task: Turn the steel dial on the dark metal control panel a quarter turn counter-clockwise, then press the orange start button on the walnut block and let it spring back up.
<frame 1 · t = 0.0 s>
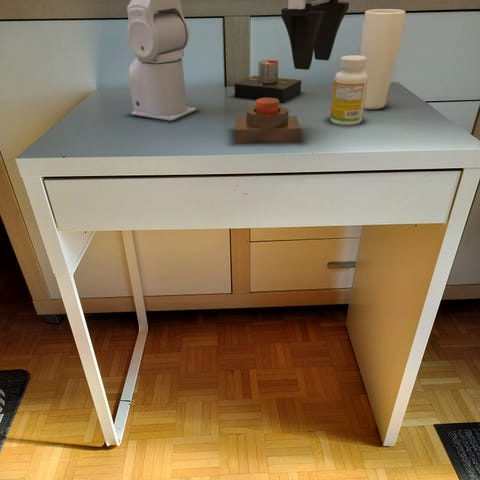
hand: (312, 64, 67), 10 cm above the table, tool pointing down, fingers open, 7 cm apart
dial panel: (267, 95, 94), on the table
tall cream tumbler: (370, 107, 86), on the table
button block: (266, 136, 73), on the table
start button: (267, 106, 70), point 4 cm above the table, slide at 0.1 cm
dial: (268, 70, 91), point 4 cm above the table, hinge at 0.0°
supplement bottle: (345, 122, 79), on the table
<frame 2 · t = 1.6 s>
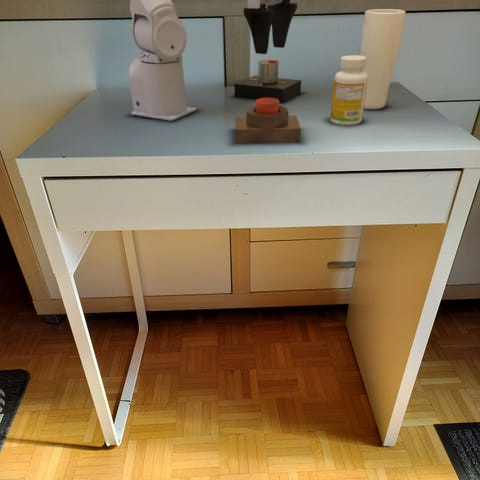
hand: (270, 50, 88), 8 cm above the table, tool pointing down, fingers open, 7 cm apart
nothing on the table moved.
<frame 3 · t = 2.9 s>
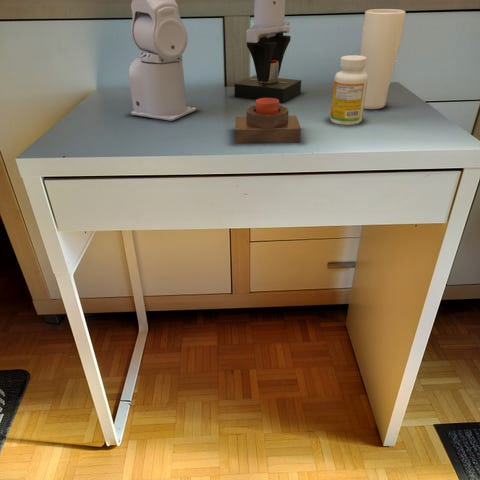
hand: (268, 79, 92), 3 cm above the table, tool pointing down, fingers closed on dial, 4 cm apart
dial: (268, 70, 91), point 4 cm above the table, hinge at -0.1°, touching gripper
everything else where it was.
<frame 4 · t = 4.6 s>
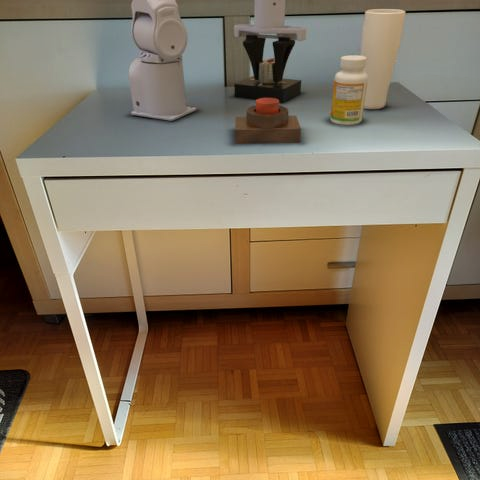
hand: (268, 80, 92), 3 cm above the table, tool pointing down, fingers closed on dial, 4 cm apart
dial: (268, 70, 91), point 4 cm above the table, hinge at 89.8°, touching gripper
everything else where it was.
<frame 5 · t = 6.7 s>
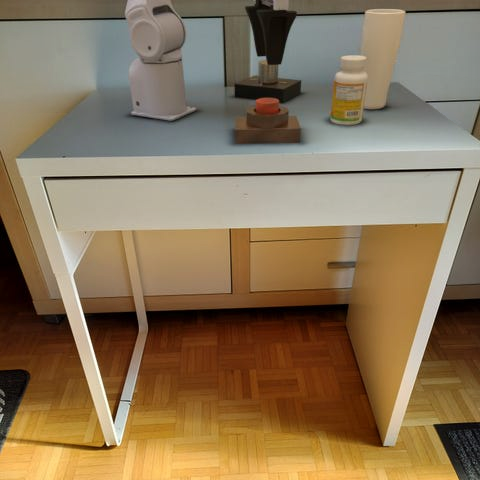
hand: (268, 60, 73), 9 cm above the table, tool pointing down, fingers open, 7 cm apart
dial: (268, 70, 91), point 4 cm above the table, hinge at 90.1°
everything else where it was.
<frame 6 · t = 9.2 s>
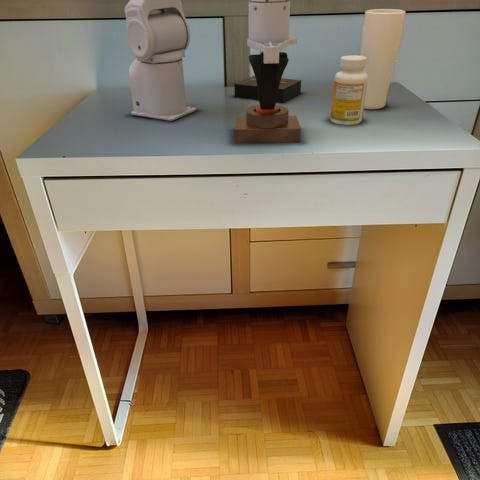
hand: (267, 107, 70), 4 cm above the table, tool pointing down, fingers closed, pressing on start button
start button: (267, 113, 71), point 3 cm above the table, slide at -0.9 cm, touching gripper
everything else where it was.
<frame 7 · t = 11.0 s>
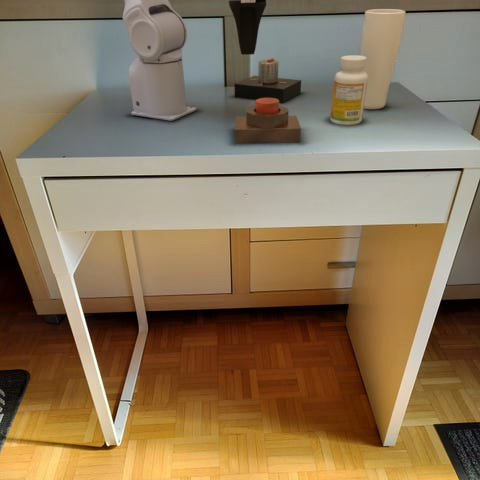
hand: (247, 53, 73), 10 cm above the table, tool pointing down, fingers closed
start button: (267, 106, 70), point 4 cm above the table, slide at 0.1 cm
everything else where it was.
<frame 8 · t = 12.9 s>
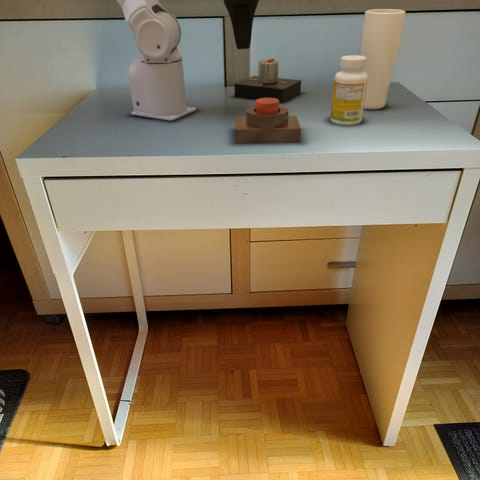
hand: (243, 48, 77), 10 cm above the table, tool pointing down, fingers closed
nothing on the table moved.
at the end: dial at +90° (first picture: +0°); start button pushed in 1.2 cm at the most during the clip, back to where it started at the end; start button slide at 0.1 cm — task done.
